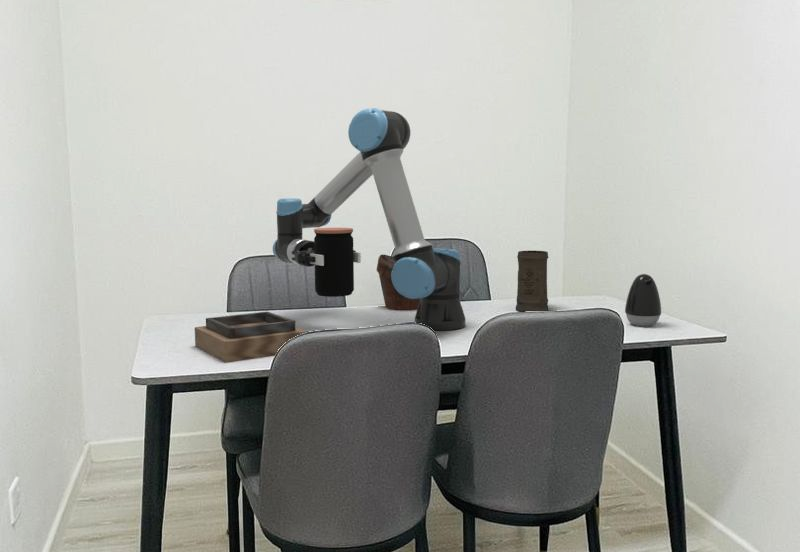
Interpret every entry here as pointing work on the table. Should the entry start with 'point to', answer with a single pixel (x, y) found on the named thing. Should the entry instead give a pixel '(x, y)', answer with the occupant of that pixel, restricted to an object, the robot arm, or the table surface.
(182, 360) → the table surface
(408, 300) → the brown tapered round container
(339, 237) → the coffee jar
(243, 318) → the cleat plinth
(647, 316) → the black rounded piece
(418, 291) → the robot arm
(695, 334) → the table surface
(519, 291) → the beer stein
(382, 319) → the table surface
